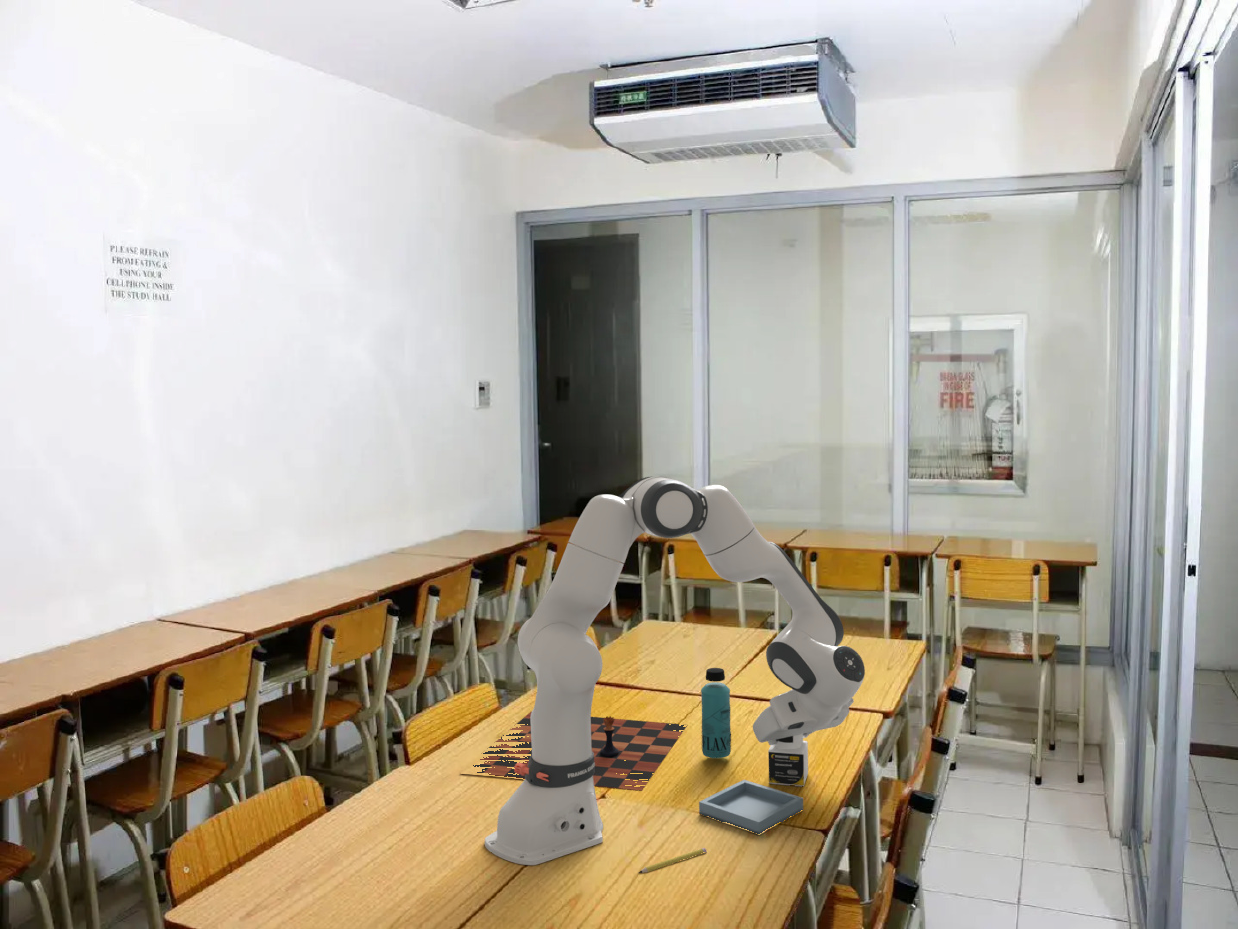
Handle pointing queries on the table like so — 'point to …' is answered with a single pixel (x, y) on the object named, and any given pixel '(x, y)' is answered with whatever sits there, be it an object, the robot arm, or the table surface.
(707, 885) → the table surface
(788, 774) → the medicine bottle
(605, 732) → the chessboard
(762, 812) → the tray
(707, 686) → the beverage bottle
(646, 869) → the pencil
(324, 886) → the table surface
